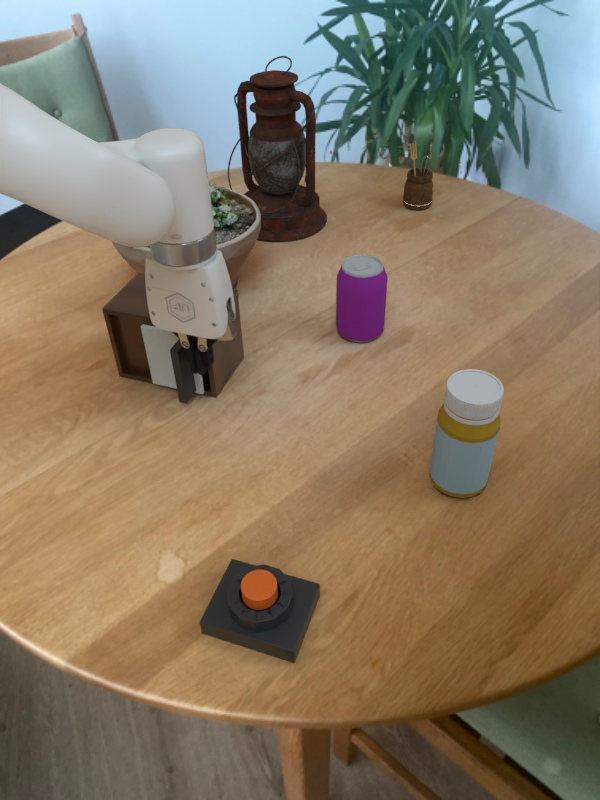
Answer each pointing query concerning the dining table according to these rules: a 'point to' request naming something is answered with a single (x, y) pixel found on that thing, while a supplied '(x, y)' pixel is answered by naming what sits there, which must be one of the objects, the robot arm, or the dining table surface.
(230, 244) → the planter
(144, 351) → the cabinet
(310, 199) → the lantern
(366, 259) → the beverage can
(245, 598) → the button
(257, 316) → the dining table surface
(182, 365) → the door
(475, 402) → the bottle
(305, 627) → the switch box
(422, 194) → the utensil holder
